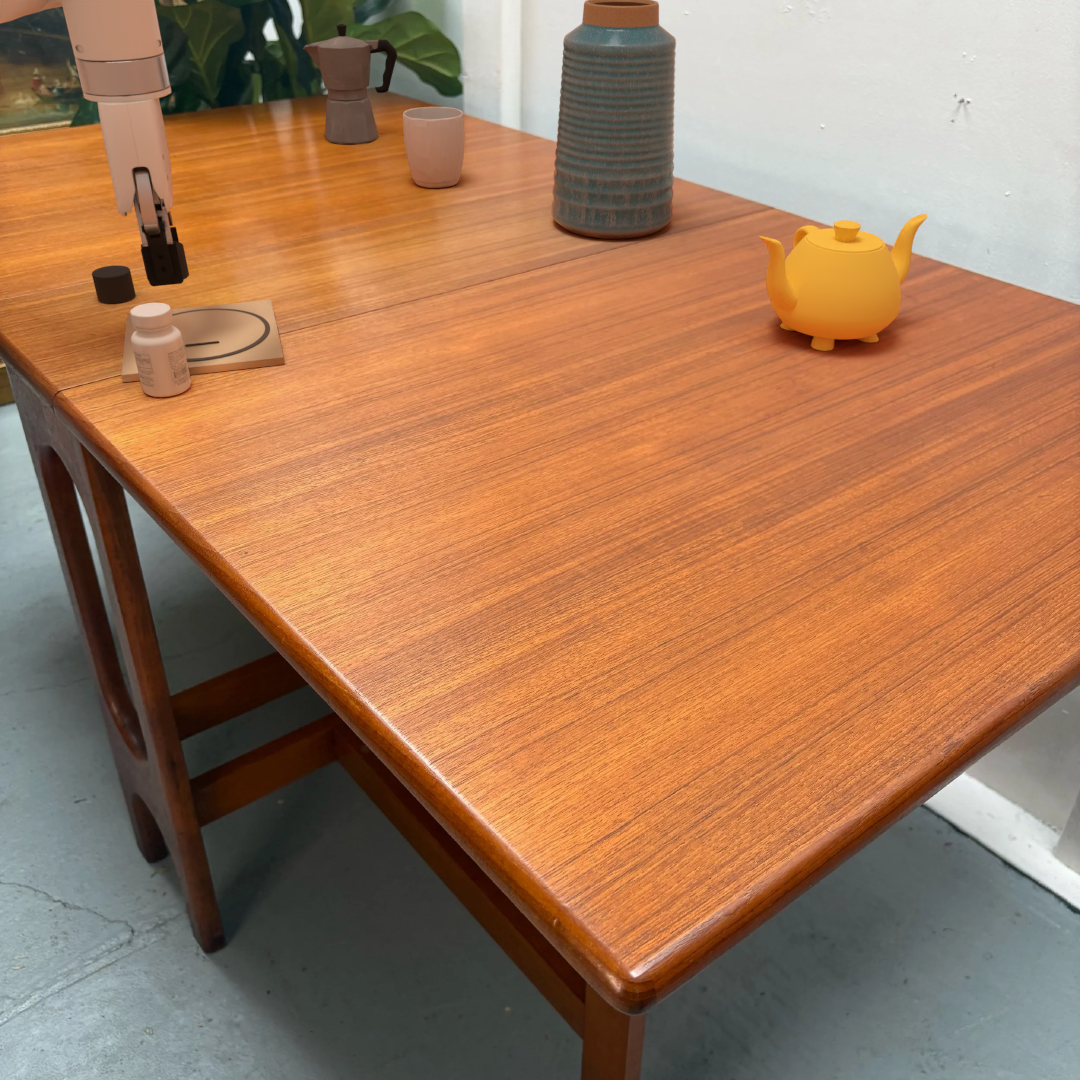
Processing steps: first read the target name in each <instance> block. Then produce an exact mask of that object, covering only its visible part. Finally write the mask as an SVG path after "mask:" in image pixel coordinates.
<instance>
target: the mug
mask: <svg viewBox="0 0 1080 1080" xmlns="http://www.w3.org/2000/svg"><path fill="white" fill-rule="evenodd" d="M402 129H403V131H402V132H403V142H404V143H403V144H404V149H405V155H406V160H407V165H408V168H409V171H410V175H411V177H412V179H413V181H414V183H415V184H416V185H417V186H419V187H422V188H428V189H439V188H440V189H441V188H448V187H452V186H455V185H457V184H458V183H459V180H460V178H461V174H462V171H463V164H464V158H465V142H466V141H465V140H466V138H465V136H466V135H465V117H464V112H463V111H462V110H461V109H458V108H456V107H450V106H423V107H413V108H410V109H406V110H405V111H403V112H402Z"/></svg>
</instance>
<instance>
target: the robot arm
mask: <svg viewBox="0 0 1080 1080" xmlns="http://www.w3.org/2000/svg"><path fill="white" fill-rule="evenodd" d="M61 7H62V10H63V14H64V15H63V16H64V18H65V23H66V26H67V27H66V28H67V30H68V35H69V40H70V44H71V46H72V52H73V56H74V60H75V61H74V62H75V64H76V69H77V73H78V78H79V81H80V86H81V90H82V93H83V98H84V99H85V100H87V101H90V102H94V103H95V102H96V103H97V109H98V117H99V122H100V123H99V124H100V129H101V134H102V139H103V144H104V149H105V153H106V158H107V162H108V168H109V173H110V177H111V182H112V187H113V191H114V192H113V193H114V197H115V198H114V199H115V202H116V208H117V212H118V214H120V215H121V216H122V217H127V216H128V213H132V210H133V207H134V210H135V211H134V212H135V218H136V221H137V226H138V231H139V235H140V239H141V244H140V250H141V249H142V253H143V258H144V262H145V266H146V271H147V275H148V279H147V281H148V280H149V281H148V283H149V285H150V286H152V287H160V286H170V285H171V286H172V285H181V284H183V283H184V280H183V273H182V268H181V264H180V259H179V254H178V249H177V244H176V242H180V241H179V235H178V231H177V227H176V226H174V222H173V217H172V212H171V211H172V209H173V207H174V184H173V183H174V182H173V173H172V164H171V156H170V149H169V142H168V138H167V133H166V127H165V122H164V117H163V112H162V106H161V100H160V98H163V97H166V96H168V95H170V94H172V86H171V81H170V77H169V71H168V66H167V61H166V55H165V52H164V51H165V50H164V46H163V42H162V41H163V40H162V35H161V30H160V25H159V19H158V15H157V8H156V3H155V0H0V24H4V23H9V22H12V21H15V20H16V19H20V18H23V17H25V16H29V15H30V16H31V15H33V14H37V13H40V12H43V11H46V10H50V9H51V10H52V9H56V8H61ZM173 241H174V242H173ZM142 253H141V254H142ZM143 258H142V259H143ZM144 262H143V263H144ZM146 271H145V272H146ZM147 275H146V276H147Z"/></svg>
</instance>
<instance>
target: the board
mask: <svg viewBox="0 0 1080 1080" xmlns="http://www.w3.org/2000/svg"><path fill="white" fill-rule="evenodd" d="M171 312H172V316H173V324H172V325H171V326H174V327H176V328H177V329H178V330H179V331H180V332H181V335H182V340H183V345H184V350H185V354H186V359H187V364H188V369H189V374H190V376H194V375H203V374H211V373H220V372H230V371H237V370H247V369H256V368H264V367H273V366H282V365H285V364H286V363H285V357H284V353H283V347H282V344H281V339H280V334H279V329H278V325H277V320H276V316H275V312H274V306H273V302H272V299H263V300H262V299H261V300H252V301H241V302H232V303H221V304H212V305H201V306H191V307H190V306H189V307H182V308H180V307H179V308H171ZM135 331H136V329H135V328H134V327H133V323H132V319H131V313H130V312H129V313H128V312H127V313H126V321H125V332H124V343H123V353H122V361H121V371H120V377H121V380H122V383H133V382H140V377H139V373H138V369H137V365H136V360H135V356H134V352H133V347H132V343H131V336H132V334H133V333H134V332H135Z"/></svg>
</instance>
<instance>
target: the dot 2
mask: <svg viewBox="0 0 1080 1080" xmlns="http://www.w3.org/2000/svg"><path fill="white" fill-rule="evenodd" d="M173 242H174V241H173ZM176 244H177V249H178V254H179V259H180V264H181V268H182V273H183V281H185V280H186V279H188V277H189V276H190V271H189V267H188V262H187V256H186V252H185V248H184V244H183V243H182V242H180V241H179V242H176ZM140 253H141V258H142V262H143V266H144V270H145V271H144V272H145V276H146V279H147V281H148V282H149V280H148V275H147V271H146V266H145V262H144V258H143V253H142V249H141V248H140Z"/></svg>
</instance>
